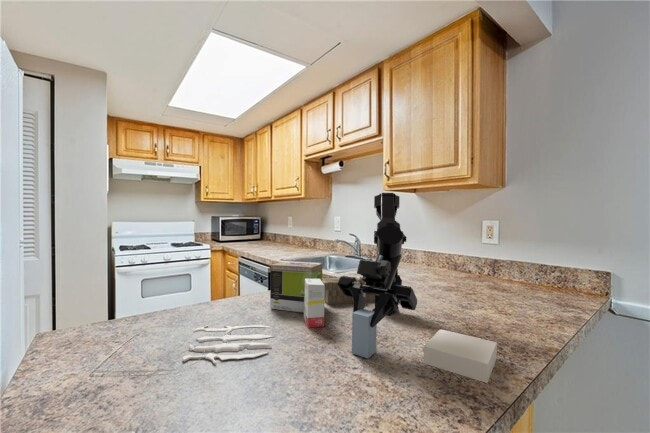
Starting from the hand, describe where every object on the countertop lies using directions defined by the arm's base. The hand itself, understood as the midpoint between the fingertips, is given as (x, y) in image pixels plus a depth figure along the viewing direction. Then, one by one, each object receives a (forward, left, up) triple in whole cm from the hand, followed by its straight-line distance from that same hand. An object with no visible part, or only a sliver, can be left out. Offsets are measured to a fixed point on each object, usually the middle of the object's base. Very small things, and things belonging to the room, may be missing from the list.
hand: (362, 324), depth 66 cm
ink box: (-21, +9, -7) cm, 24 cm away
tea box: (-34, +16, -7) cm, 38 cm away
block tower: (-23, +38, -7) cm, 45 cm away
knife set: (-33, -19, -7) cm, 39 cm away
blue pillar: (0, +1, -7) cm, 7 cm away
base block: (+18, +11, -7) cm, 22 cm away
